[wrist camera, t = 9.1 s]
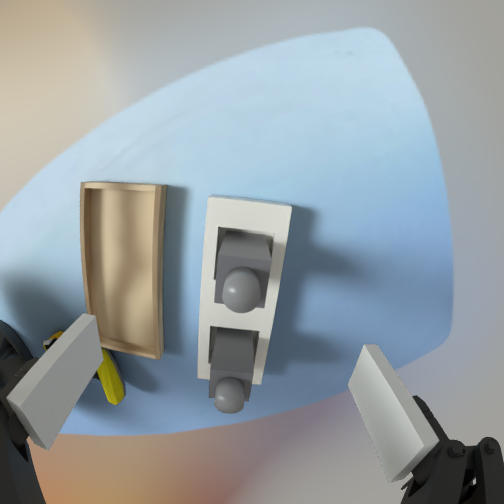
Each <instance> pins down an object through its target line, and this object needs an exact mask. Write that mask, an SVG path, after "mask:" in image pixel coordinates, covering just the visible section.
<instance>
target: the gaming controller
mask: <svg viewBox="0 0 504 504" xmlns="http://www.w3.org/2000/svg"><path fill="white" fill-rule="evenodd" d="M63 333H64V332H62V331H59V332H57V333H55V334H54V335H52V336H51V337H50V338H49V339H48V340H46V341H43V344H44V345H43V347H44V349H45V350H46V351H47V350H48V349H49V348H50V347H51V346H52V345H53V344H54V343H55V342H56V340H57V339H58V338H59V337H60V336H61V335H62V334H63ZM101 349H102V354H103V359H104V360H103V362H102V363H101V365H100V366H99V368H98V369H97V371H96V372H95V374H94V375H93V377H92V378H97V379H99V380H101V383H102V386H103V389H104V392H105V394H106V397H107V399H108V401H109V402H110V403H112V404H113V405H117V404H118V403H119V402H121V400H122V399H123V398H124V396H125V395H126V391H125V382H124V380H123V378H122V375H121V373H120V370H119V368H118V365H117V363H116V361H115V360H114V358H113V356H112V355H111V353H110V351H109V350H108V349H107V348H104V347H101Z"/></svg>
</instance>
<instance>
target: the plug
mask: <svg viewBox="0 0 504 504" xmlns="http://www.w3.org/2000/svg"><path fill="white" fill-rule="evenodd" d="M271 263H272V260H271V256H270V252H269V249H268V245H267V242H266V238H265V235H263V234H255V233H247V232H238V231H229V230H227V231H226V234H225V237H224V239H223V242H222V245H221V248H220V251H219V254H218V261H217V273H216V284H215V297H214V303H219V304H225V306H226V307H227V308H228V309H230V310H231V311H233V312H236V313H247V312H250V311H252V310H254V309H255V308H264V307H265V301H266V295H267V289H268V282H269V276H270V269H271Z"/></svg>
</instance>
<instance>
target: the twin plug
mask: <svg viewBox="0 0 504 504" xmlns="http://www.w3.org/2000/svg"><path fill="white" fill-rule="evenodd" d="M253 375H254V368H253V338H252V330H244V329H234V328H225V327H217V332H216V338H215V344H214V349H213V355H212V361H211V367H210V381H209V398H215V402H214V405H215V407H216V408H217V409H218V410H219V411H221V412H223V413H229V414H232V413H237V412H239V411H241V410H242V409H243V406H244V401H248V402H249V397H250V391H251V386H252V380H253Z"/></svg>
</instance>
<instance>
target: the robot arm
mask: <svg viewBox="0 0 504 504" xmlns="http://www.w3.org/2000/svg"><path fill="white" fill-rule="evenodd" d="M103 360H104V359H103V354H102V349H101V344H100V339H99V333H98V327H97V321H96V316H94V315H89V314H85V313H83V314H82V315H81V316H80V317H79V318H78V319H77V320H76V321H75V322H74V323H73V324H72V325H71V326H70V327H69V328H68V329H67V330H66V331H65V332H64V333H63V334H62V335H61V336H60V337H59V338H58V339H57V340H56V342H55V343H54V344H53V345H52V346H51V347H50V348H49V349H48V350H47V351H46V352H45V353H44V354H43V356H42V357H41V358H40V359H39V358H37V357H35V358H32V356H31V354H30V353H29V351H28V349H27V348H26V346H25V345H24V343H23V342H22V340H21V339H20V338H19V337H18V335H17V334H16V333H15V332H14V331H13V330H12V329H11V328H10V327H9V326H8V325H6V324H5V323H4V322H2V321H0V504H46V502H45V500H44V497H43V494H42V491H41V488H40V485H39V482H38V479H37V476H36V472H35V469H34V465H33V462H32V458H31V454H30V449H29V445H28V443H27V441H26V439H27V437H28V436H30V438H31V439H32V441H33V442H34V443H35V444H36V445H38V446H40V447H42V448H44V449H46V450H48V451H49V449H50V448H51V446H52V444H53V442H54V440H55V439H56V437H57V435H58V433H59V431H60V430H61V428H62V426H63V424H64V423H65V421H66V419H67V418H68V416H69V414H70V413H71V411H72V409H73V408H74V406H75V404H76V403H77V401H78V399H79V398H80V396H81V394H82V393H83V391H84V390H85V388H86V386H87V385H88V383H89V382H90V380H91V379H92V377H93V375H94V374H95V372H96V371H97V369H98V368H99V366H100V365H101V363H102V362H103ZM348 387H349V389H350V392H351V394H352V396H353V398H354V401H355V403H356V405H357V408H358V409H359V412H360V415H361V417H362V419H363V421H364V424H365V426H366V429H367V431H368V433H369V436H370V438H371V440H372V443H373V445H374V448H375V450H376V453H377V455H378V458H379V460H380V463H381V465H382V467H383V470H384V473H385V475H386V478H387V480H388V483H391V482H395V481H398V480H401V479H404V478H405V477H406V476H407V475H408V474H409V473H410V472H412V474H413V477H412V478H411V479H410V480H409V481H408V482H407V483H406V484H405V485H403V487H402V488H401V490H403V489H404V488H406V487H407V486H408V487H407V490H406V492H405V494H404V497H403V499H402V501H401V504H504V462H503V458H502V453H501V448H500V445H499V443H498V442H497V441H496V440H495V439H494V438H492V437H485V438H483V439H482V440H481V441H480V442H479V443H478V445H476V446H465V445H464V444H463V443H462V442H460V441H458V440H449V438H448V437H447V435H446V434H445V432H444V431H443V429H442V428H441V426H440V424H439V423H438V421H437V420H436V418H434V415H433V414H432V412H431V411H430V409H429V408H428V406H427V405H426V403H425V402H424V401H423V400H422V399H420V398H419V397H418V396H411V394H410V393H409V391H408V390H407V388H406V387H405V385H404V384H403V382H402V381H401V379H400V378H399V376H398V375H397V373H396V372H395V370H394V369H393V367H392V366H391V364H390V363H389V361H388V360H387V358H386V357H385V356H384V354H383V353H382V351H381V350H380V348H379V347H378V345H377V344H364V345H363V348H362V351H361V353H360V356H359V359H358V361H357V364H356V366H355V369H354V371H353V373H352V376H351V378H350V381H349V383H348ZM475 478H476V484H475V485H473V480H474V479H475Z"/></svg>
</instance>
